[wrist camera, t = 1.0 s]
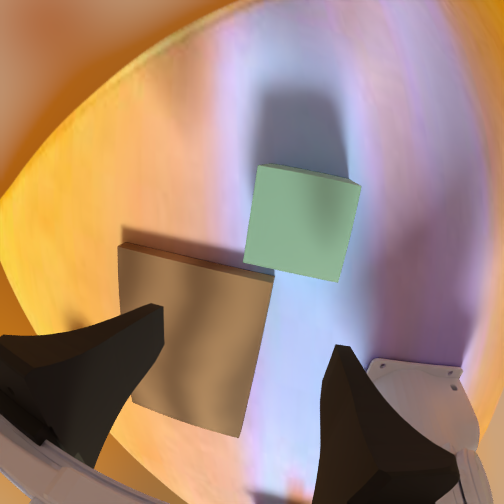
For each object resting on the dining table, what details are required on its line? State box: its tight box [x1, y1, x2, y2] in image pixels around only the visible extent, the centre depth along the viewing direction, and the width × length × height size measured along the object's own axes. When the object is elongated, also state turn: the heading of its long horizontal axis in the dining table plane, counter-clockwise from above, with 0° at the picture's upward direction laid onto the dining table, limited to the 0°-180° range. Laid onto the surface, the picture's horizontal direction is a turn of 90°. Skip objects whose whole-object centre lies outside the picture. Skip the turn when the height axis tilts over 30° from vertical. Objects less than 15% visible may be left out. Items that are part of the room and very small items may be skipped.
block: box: [243, 163, 361, 283], centre depth 17 cm, size 5×5×5 cm
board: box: [118, 242, 275, 438], centre depth 24 cm, size 12×18×1 cm, turn 171°
